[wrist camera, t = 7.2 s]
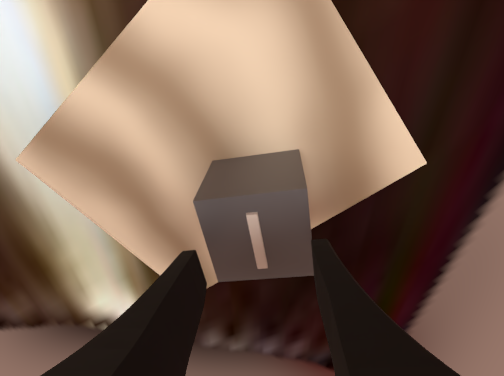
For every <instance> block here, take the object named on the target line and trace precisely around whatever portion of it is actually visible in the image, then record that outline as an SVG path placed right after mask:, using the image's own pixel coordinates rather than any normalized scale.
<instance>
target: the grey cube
mask: <svg viewBox="0 0 504 376" xmlns="http://www.w3.org/2000/svg"><path fill="white" fill-rule="evenodd" d="M193 204H194V207H195V210H196V213H197V216H198V220H199V223H200V226H201V229H202V232H203V235H204V239H205V242H206V245H207V248H208V251H209V254H210V258H211V261H212V264H213V267H214V270H215V274H216V277H217V280H218V282H226V281H240V280H255V279H269V278H283V277H298V276H312V275H314V269H313V258H312V246H311V240H312V236H311V225H310V213H309V202H308V191H307V185H306V180H305V175H304V170H303V166H302V161H301V156H300V151H299V149H296V150H289V151H281V152H274V153H266V154H259V155H251V156H244V157H236V158H229V159H221V160H214V161H212V163H211V165H210V167H209V169H208V171H207V173H206V175H205V177H204V179H203V181H202V183H201V185H200V187H199V189H198V191H197V193H196V196H195V198H194V200H193Z"/></svg>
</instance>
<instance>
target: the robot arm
mask: <svg viewBox="0 0 504 376" xmlns="http://www.w3.org/2000/svg"><path fill="white" fill-rule="evenodd" d="M311 246H312V258H313V269H314V279H315V286H316V293H317V300H318V304H319V308H320V312H321V316H322V320H323V324H324V328H325V332H326V336H327V340H328V344H329V348H330V352H331V356H332V361H333V365H334V371H335V376H460V375H459V374H458V373H456V372H455V371H453V370H452V369H451V368H449V367H448V366H447V365H445V364H444V363H443V362H442V361H440V360H439V359H438V358H437V357H435V356H434V355H433V354H431V353H430V352H429V351H428V350H426V349H425V348H424V347H422V345H420V344H419V343H418V342H417V341H416V340H414V339H413V338H412V337H411V336H410V335H409V334H408V333H406V332H405V331H404V330H403V329H402V328H401V327H399V326H398V325H397V324H396V323H395V322H394V321H393V320H392V319H391V318H390V317H389V316H388V315H387V314H386V313H385V312H384V311H383V310H382V309H381V308H380V307H379V306H378V305H377V304H376V303H375V302H374V301H373V300H372V299H371V298H370V297H369V296H368V294H367V293H366V292H365V291H364V290H363V289H362V288H361V286H360V285H359V284H358V283H357V282H356V280H355V279H354V278H353V276H352V275H351V274H350V273H349V271H348V270H347V269H346V267H345V266H344V265H343V263H342V262H341V260H340V259H339V257H338V256H337V254H336V253H335V251H334V249H333V248H332V246H331V244H330V242H329V241H328V240H327V239H317V240H311ZM206 288H207V282H206V279H205V276H204V273H203V270H202V267H201V264H200V261H199V258H198V255H197V252H196V250H188V251H182V252H181V253H180V254H179V255H178V256H177V257H176V259H175V260H174V261H173V262H172V263H171V264H170V265H169V267H168V268H167V269H166V270H165V271H164V272H163V273H162V274H161V275H160V277H159V278H158V279H157V280H156V281H155V282H154V283H153V284H152V285H151V286H150V287H149V288H148V290H147V291H146V292H145V293H144V294H143V295H142V296H141V297H140V298H139V299H138V300H137V301H136V302H135V303H134V304H133V305H132V306H131V307H130V308H129V309H127V310H126V311H125V312H124V313H123V314H122V315H121V316H120V317H119V318H118V319H116V320H115V321H114V322H113V323H112V324H111V325H109V326H108V327H107V328H106V329H105V330H103V331H102V332H101V333H100V334H98V335H97V336H96V337H95V338H93V339H92V340H91V341H89V342H88V343H87V344H85V345H84V346H83V347H82V348H80V349H79V350H78V351H76V352H75V353H73V354H72V355H70V356H69V357H68V358H66V359H65V360H63V361H62V362H60V363H59V364H57V365H56V366H55V367H53V368H52V369H50V370H48V371H47V372H45V373H44V374H42V375H41V376H185V374H186V369H187V365H188V361H189V357H190V353H191V350H192V346H193V343H194V339H195V336H196V332H197V329H198V325H199V322H200V318H201V314H202V311H203V307H204V301H205V295H206Z"/></svg>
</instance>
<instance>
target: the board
mask: <svg viewBox="0 0 504 376" xmlns="http://www.w3.org/2000/svg"><path fill="white" fill-rule="evenodd" d="M296 149H299V151H300V156H301V161H302V166H303V170H304V175H305V180H306V185H307V191H308V202H309V213H310V225H311V229H312V228H314V227H316V226H318V225H319V224H321V223H323V222H325V221H326V220H328V219H330V218H332V217H333V216H335V215H337V214H339V213H340V212H342V211H344V210H346V209H347V208H349V207H351V206H353V205H354V204H356V203H358V202H360V201H361V200H363V199H365V198H367V197H368V196H370V195H372V194H374V193H376V192H377V191H379V190H381V189H383V188H384V187H386V186H388V185H390V184H391V183H393V182H395V181H397V180H398V179H400V178H402V177H404V176H405V175H407V174H409V173H411V172H412V171H414V170H416V169H418V168H419V167H421V166H423V165H425V164H426V163H427V162H426V160H425V159H424V157H423V155H422V154H421V152H420V150H419V149H418V147H417V145H416V144H415V142H414V140H413V138H412V137H411V135H410V133H409V132H408V130H407V128H406V127H405V125H404V123H403V122H402V120H401V118H400V116H399V115H398V113H397V111H396V110H395V108H394V106H393V105H392V103H391V101H390V100H389V98H388V96H387V94H386V93H385V91H384V89H383V88H382V86H381V84H380V83H379V81H378V79H377V78H376V76H375V74H374V72H373V71H372V69H371V67H370V66H369V64H368V62H367V61H366V59H365V57H364V55H363V54H362V52H361V50H360V49H359V47H358V45H357V44H356V42H355V40H354V39H353V37H352V35H351V33H350V32H349V30H348V28H347V27H346V25H345V23H344V22H343V20H342V18H341V17H340V15H339V13H338V11H337V10H336V8H335V6H334V5H333V3H332V1H331V0H148V1H147V2H146V4H145V5H144V6H143V7H142V8H141V10H140V11H139V12H138V13H137V14H136V16H135V17H134V18H133V19H132V20H131V22H130V23H129V24H128V25H127V26H126V28H125V29H124V30H123V31H122V32H121V34H120V35H119V36H118V37H117V38H116V40H115V41H114V42H113V43H112V44H111V46H110V47H109V48H108V49H107V50H106V52H105V53H104V54H103V55H102V56H101V58H100V59H99V60H98V61H97V62H96V64H95V65H94V66H93V67H92V68H91V70H90V71H89V72H88V73H87V74H86V76H85V77H84V78H83V79H82V80H81V82H80V83H79V84H78V85H77V86H76V88H75V89H74V90H73V91H72V93H71V94H70V95H69V96H68V97H67V99H66V100H65V101H64V102H63V103H62V105H61V106H60V107H59V108H58V109H57V111H56V112H55V113H54V114H53V115H52V117H51V118H50V119H49V120H48V121H47V123H46V124H45V125H44V126H43V127H42V129H41V130H40V131H39V132H38V133H37V135H36V136H35V137H34V138H33V139H32V141H31V142H30V143H29V144H28V145H27V147H26V148H25V149H24V150H23V151H22V153H21V154H20V155H19V156H18V157H17V159H16V161H17V162H19V163H20V164H21V165H22V166H24V167H25V168H26V169H27V170H29V171H30V172H31V173H32V174H34V175H35V176H36V177H37V178H39V179H40V180H41V181H42V182H44V183H45V184H46V185H47V186H49V187H50V188H51V189H52V190H54V191H55V192H56V193H57V194H59V195H60V196H61V197H62V198H64V199H65V200H66V201H67V202H69V203H70V204H71V205H72V206H74V207H75V208H76V209H77V210H79V211H80V212H81V213H82V214H84V215H85V216H86V217H87V218H89V219H90V220H91V221H93V222H94V223H95V224H96V225H98V226H99V227H100V228H101V229H103V230H104V231H105V232H106V233H108V234H109V235H110V236H111V237H113V238H114V239H115V240H116V241H118V242H119V243H120V244H121V245H123V246H124V247H125V248H126V249H128V250H129V251H130V252H131V253H133V254H134V255H135V256H136V257H138V258H139V259H140V260H141V261H143V262H144V263H145V264H146V265H148V266H149V267H150V268H151V269H153V270H154V271H155V272H156V273H158V274H159V275H161V274H162V273H163V272H164V271H165V270H166V269H167V268H168V267H169V265H170V264H171V263H172V262H173V261H174V260H175V259H176V257H177V256H178V255H179V254H180V253H181V252H182V251H188V250H196V252H197V255H198V258H199V261H200V264H201V267H202V270H203V273H204V276H205V279H206V282H207V288H209V287H210V286H212V285H214V284H216V283H217V282H218V280H217V277H216V274H215V270H214V267H213V264H212V261H211V258H210V254H209V251H208V248H207V245H206V242H205V239H204V235H203V232H202V229H201V226H200V223H199V220H198V216H197V213H196V210H195V207H194V204H193V200H194V198H195V196H196V193H197V191H198V189H199V187H200V185H201V183H202V181H203V179H204V177H205V175H206V173H207V171H208V169H209V167H210V165H211V163H212V161H214V160H221V159H229V158H236V157H244V156H251V155H259V154H266V153H274V152H281V151H289V150H296ZM207 288H206V289H207Z"/></svg>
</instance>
